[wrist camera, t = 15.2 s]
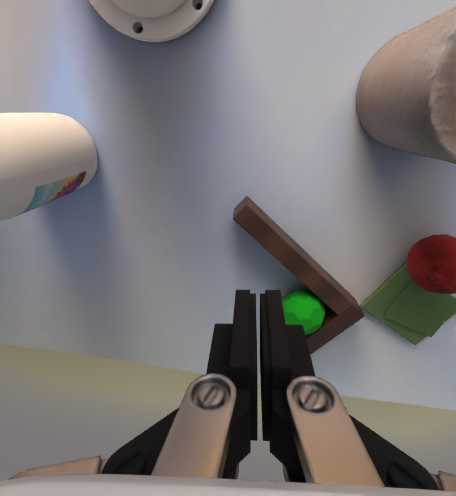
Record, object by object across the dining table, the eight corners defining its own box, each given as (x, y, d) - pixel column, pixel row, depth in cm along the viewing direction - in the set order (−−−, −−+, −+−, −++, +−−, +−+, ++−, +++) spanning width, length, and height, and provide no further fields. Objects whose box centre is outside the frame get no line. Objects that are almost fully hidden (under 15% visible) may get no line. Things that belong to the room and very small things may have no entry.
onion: (418, 282, 36) (460, 325, 29) (383, 253, 35) (417, 290, 28) (462, 245, 34) (519, 282, 27) (426, 213, 33) (476, 242, 26)
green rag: (359, 305, 38) (362, 310, 37) (406, 261, 35) (410, 266, 34) (413, 342, 39) (417, 348, 38) (461, 303, 37) (467, 308, 36)
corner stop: (171, 272, 38) (163, 287, 35) (247, 195, 34) (246, 204, 30) (275, 357, 42) (277, 378, 39) (355, 298, 38) (365, 316, 34)
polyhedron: (300, 274, 37) (307, 296, 32) (328, 299, 38) (339, 324, 34) (270, 300, 38) (272, 324, 34) (298, 324, 40) (303, 350, 35)
